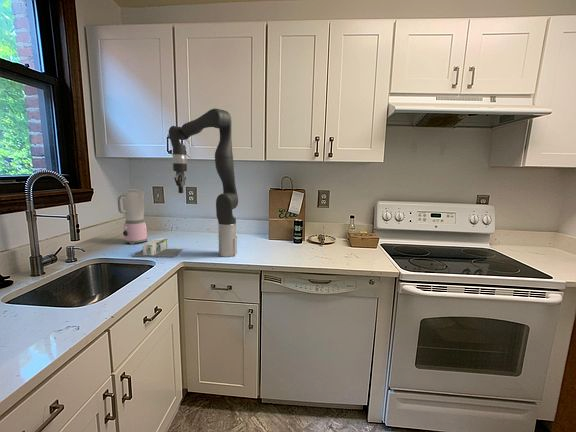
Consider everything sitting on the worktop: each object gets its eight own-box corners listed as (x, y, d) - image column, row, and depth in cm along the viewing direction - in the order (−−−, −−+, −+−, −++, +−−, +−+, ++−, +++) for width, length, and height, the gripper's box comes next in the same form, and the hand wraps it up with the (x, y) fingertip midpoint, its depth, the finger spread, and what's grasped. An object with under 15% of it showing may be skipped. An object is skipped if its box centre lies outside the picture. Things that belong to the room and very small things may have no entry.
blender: (139, 238, 183) (135, 188, 178) (152, 241, 177) (149, 189, 172) (114, 244, 169) (110, 189, 164) (127, 247, 164) (123, 191, 158)
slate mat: (182, 249, 161) (182, 248, 161) (173, 257, 148) (173, 256, 147) (144, 249, 161) (144, 248, 161) (131, 256, 147) (131, 255, 147)
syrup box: (168, 248, 162) (153, 255, 148) (158, 247, 162) (142, 255, 148) (167, 238, 161) (152, 245, 147) (157, 237, 162) (142, 244, 147)
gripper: (182, 162, 158) (183, 194, 161) (190, 163, 171) (190, 192, 174) (168, 162, 157) (170, 194, 160) (177, 162, 170) (178, 191, 173)
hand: (180, 193), depth 167 cm, fingers closed
